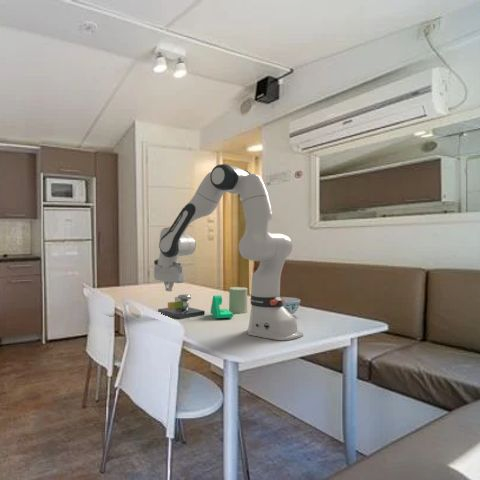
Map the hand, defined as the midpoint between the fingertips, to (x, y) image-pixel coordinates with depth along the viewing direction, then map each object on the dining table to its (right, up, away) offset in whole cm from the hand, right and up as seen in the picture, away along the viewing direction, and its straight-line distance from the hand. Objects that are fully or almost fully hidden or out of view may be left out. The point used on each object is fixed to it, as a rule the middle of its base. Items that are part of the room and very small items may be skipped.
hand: (168, 291), depth 195 cm
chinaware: (+54, -12, -1) cm, 56 cm away
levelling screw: (+5, -9, -3) cm, 11 cm away
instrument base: (+6, -11, +1) cm, 13 cm away
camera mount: (+25, -12, -4) cm, 28 cm away
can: (+33, -12, +9) cm, 36 cm away
